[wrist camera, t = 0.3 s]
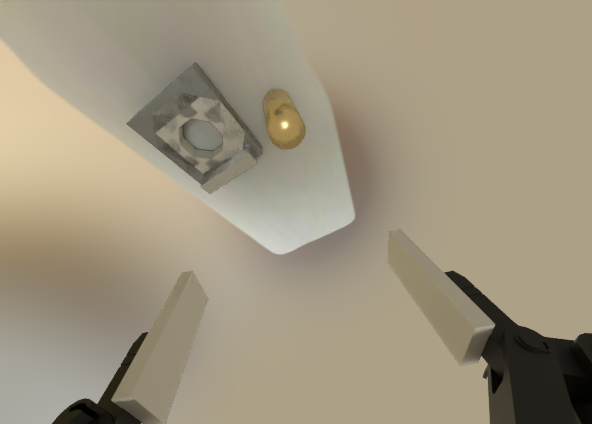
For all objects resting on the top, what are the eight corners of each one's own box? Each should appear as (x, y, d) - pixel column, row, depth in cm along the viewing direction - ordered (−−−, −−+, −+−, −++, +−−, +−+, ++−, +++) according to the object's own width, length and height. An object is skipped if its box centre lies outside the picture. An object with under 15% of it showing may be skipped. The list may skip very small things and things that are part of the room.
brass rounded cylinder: (270, 82, 30) (279, 105, 23) (296, 98, 32) (312, 123, 25) (258, 111, 32) (262, 140, 25) (283, 124, 34) (294, 154, 27)
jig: (133, 116, 29) (119, 130, 26) (195, 62, 27) (188, 70, 23) (209, 181, 39) (206, 197, 35) (261, 146, 36) (263, 160, 33)
